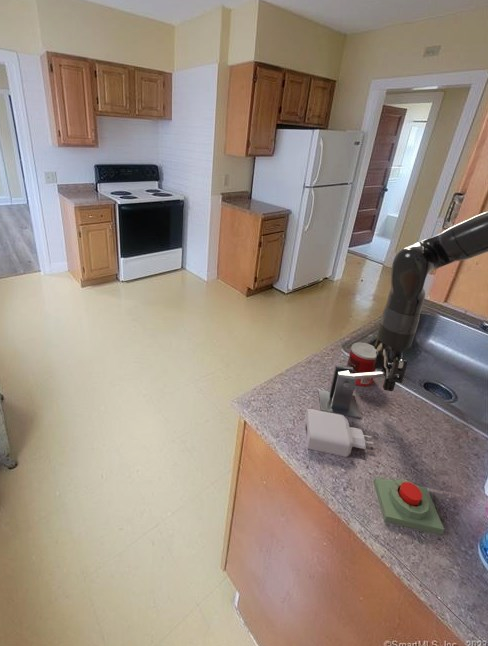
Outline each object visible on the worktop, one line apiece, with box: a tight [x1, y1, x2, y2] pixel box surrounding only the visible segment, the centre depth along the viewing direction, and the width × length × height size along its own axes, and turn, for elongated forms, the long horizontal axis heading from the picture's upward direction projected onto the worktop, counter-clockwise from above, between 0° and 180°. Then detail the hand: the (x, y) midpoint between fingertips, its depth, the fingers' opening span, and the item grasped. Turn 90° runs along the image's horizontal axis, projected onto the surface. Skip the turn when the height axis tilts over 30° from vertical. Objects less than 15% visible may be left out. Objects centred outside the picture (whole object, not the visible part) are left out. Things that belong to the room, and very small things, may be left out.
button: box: [399, 481, 422, 506], centre depth 63 cm, size 4×4×2 cm
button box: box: [373, 476, 445, 536], centre depth 64 cm, size 10×8×4 cm
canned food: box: [346, 342, 377, 387], centre depth 97 cm, size 8×8×11 cm
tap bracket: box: [317, 364, 362, 420], centre depth 87 cm, size 10×8×12 cm
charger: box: [304, 408, 374, 458], centre depth 78 cm, size 5×9×15 cm
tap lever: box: [338, 366, 386, 379], centre depth 84 cm, size 12×5×2 cm, turn 78°
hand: (382, 378), depth 83 cm, fingers open, 8 cm apart
